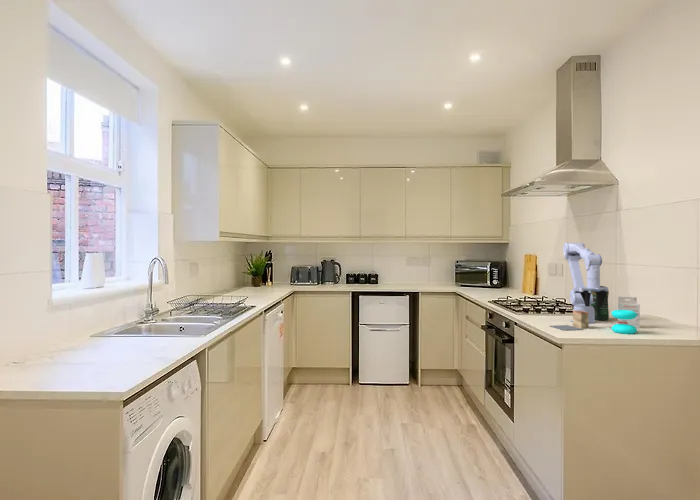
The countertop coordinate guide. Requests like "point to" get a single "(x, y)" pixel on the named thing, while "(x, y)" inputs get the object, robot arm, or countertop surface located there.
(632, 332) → the donuts
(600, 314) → the coffee jar
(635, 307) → the ink cartridge box
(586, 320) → the oak block
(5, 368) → the countertop surface
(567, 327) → the rubber mat
